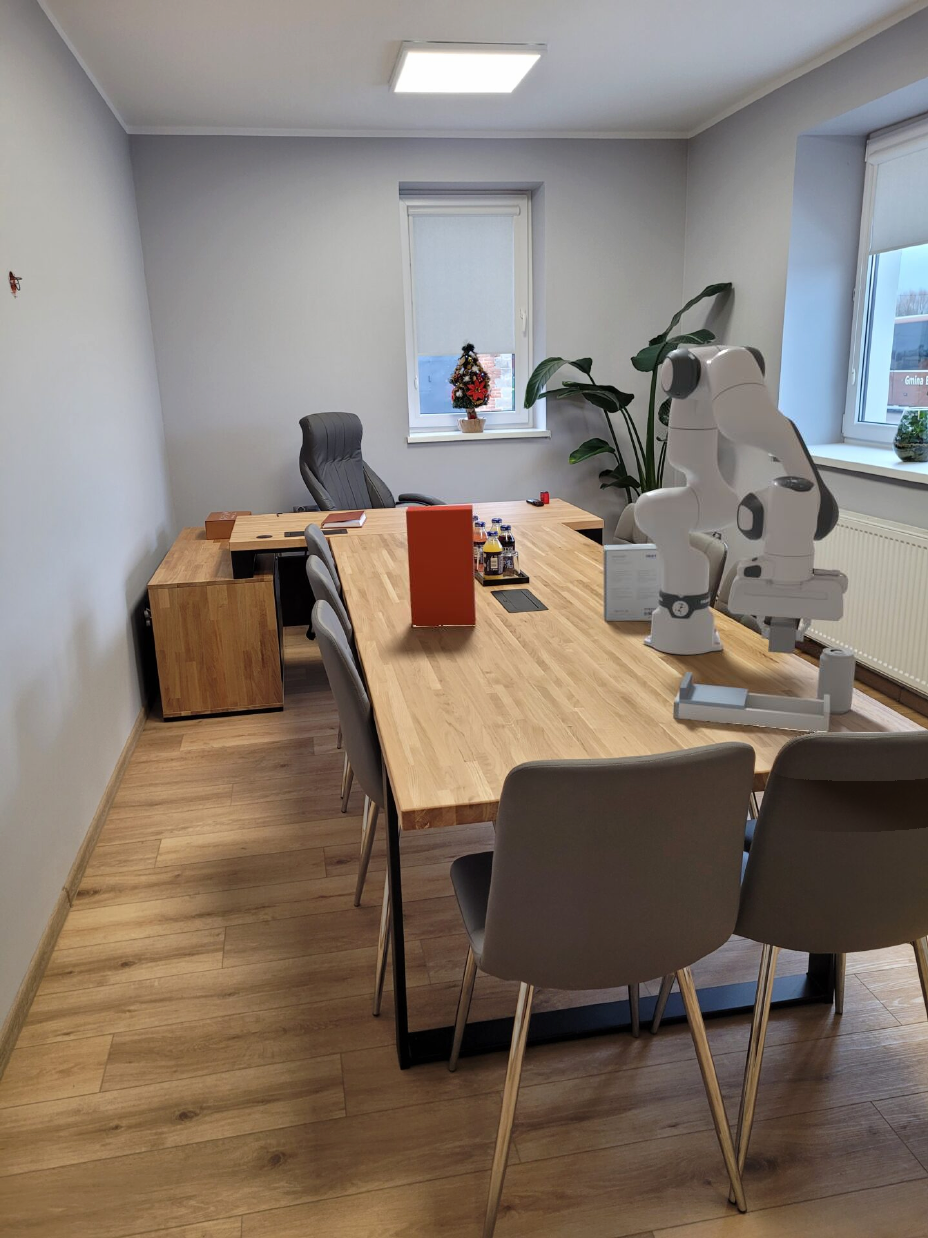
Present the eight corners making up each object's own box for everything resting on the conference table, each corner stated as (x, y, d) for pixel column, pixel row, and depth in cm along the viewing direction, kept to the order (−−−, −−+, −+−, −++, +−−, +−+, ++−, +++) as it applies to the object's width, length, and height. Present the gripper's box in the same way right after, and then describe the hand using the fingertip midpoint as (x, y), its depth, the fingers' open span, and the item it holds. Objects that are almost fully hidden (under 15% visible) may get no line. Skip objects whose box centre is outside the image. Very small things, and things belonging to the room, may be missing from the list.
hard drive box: (658, 613, 245) (660, 543, 240) (662, 621, 238) (664, 548, 233) (602, 614, 247) (603, 543, 242) (603, 621, 240) (604, 549, 234)
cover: (686, 686, 179) (686, 671, 179) (747, 692, 175) (748, 677, 174) (679, 702, 171) (679, 687, 170) (743, 709, 167) (744, 693, 166)
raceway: (680, 701, 181) (681, 680, 179) (827, 716, 170) (829, 694, 169) (673, 717, 172) (673, 696, 171) (827, 734, 162) (829, 712, 161)
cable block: (769, 644, 169) (771, 619, 167) (794, 646, 167) (796, 621, 166) (768, 651, 165) (769, 626, 163) (793, 653, 163) (795, 628, 162)
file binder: (475, 626, 239) (471, 508, 230) (411, 628, 239) (405, 510, 231) (475, 618, 246) (472, 504, 238) (414, 620, 247) (408, 506, 239)
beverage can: (842, 702, 177) (847, 645, 174) (856, 714, 171) (862, 655, 168) (810, 703, 177) (815, 646, 174) (824, 715, 171) (829, 656, 168)
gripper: (848, 566, 161) (842, 639, 164) (732, 560, 168) (728, 630, 172) (849, 574, 155) (842, 649, 159) (728, 567, 162) (724, 639, 166)
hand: (782, 639), depth 165 cm, fingers closed on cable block, 4 cm apart
